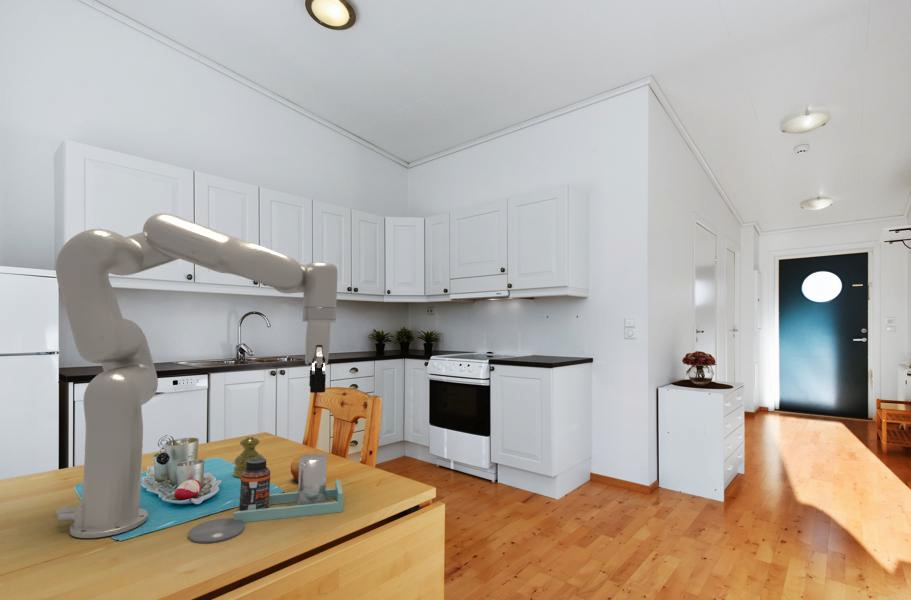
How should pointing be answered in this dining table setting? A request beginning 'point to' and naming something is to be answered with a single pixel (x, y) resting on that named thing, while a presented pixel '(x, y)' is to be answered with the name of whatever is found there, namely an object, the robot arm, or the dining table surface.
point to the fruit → (297, 466)
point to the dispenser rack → (293, 510)
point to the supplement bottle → (255, 485)
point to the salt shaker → (246, 455)
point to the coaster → (216, 530)
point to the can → (312, 479)
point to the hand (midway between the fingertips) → (316, 389)
